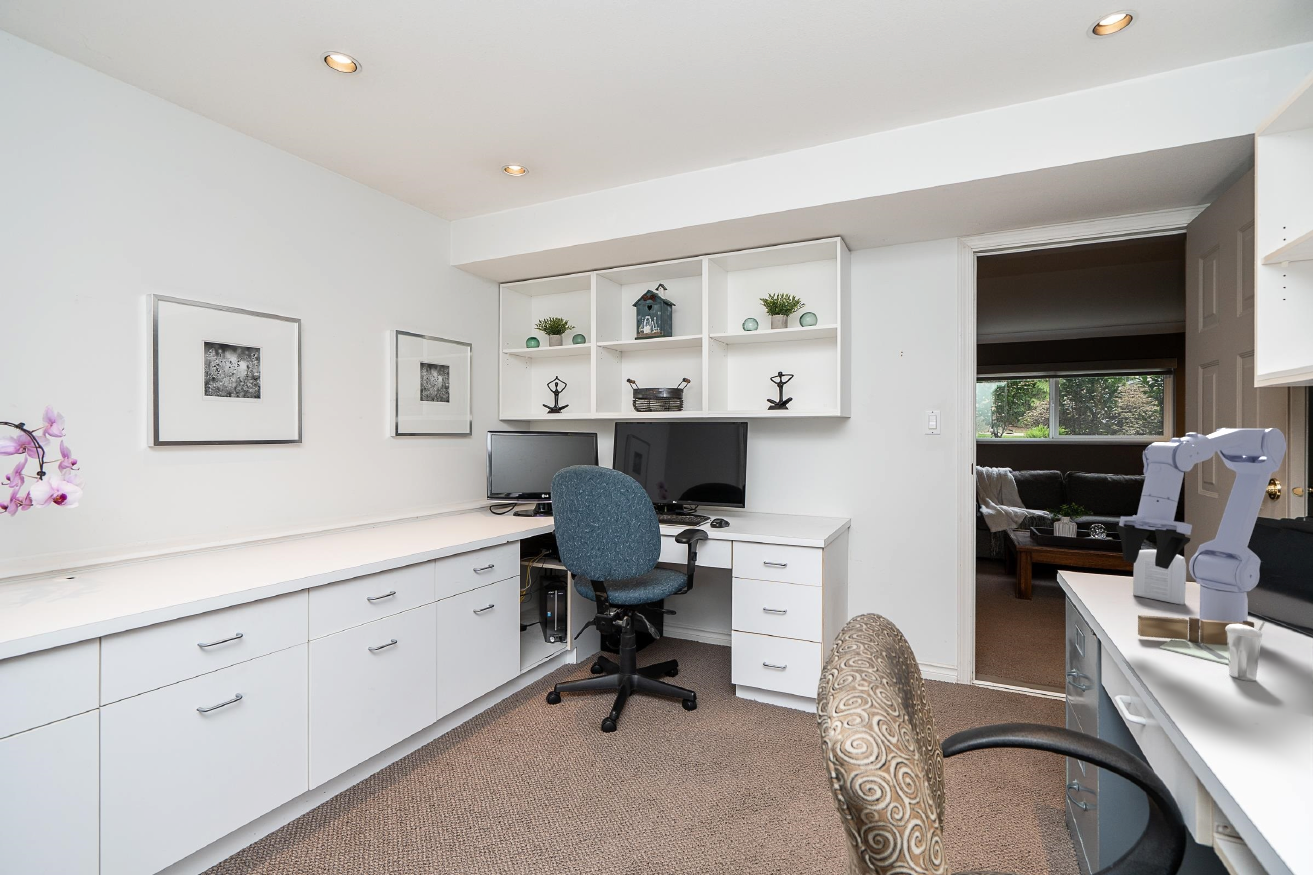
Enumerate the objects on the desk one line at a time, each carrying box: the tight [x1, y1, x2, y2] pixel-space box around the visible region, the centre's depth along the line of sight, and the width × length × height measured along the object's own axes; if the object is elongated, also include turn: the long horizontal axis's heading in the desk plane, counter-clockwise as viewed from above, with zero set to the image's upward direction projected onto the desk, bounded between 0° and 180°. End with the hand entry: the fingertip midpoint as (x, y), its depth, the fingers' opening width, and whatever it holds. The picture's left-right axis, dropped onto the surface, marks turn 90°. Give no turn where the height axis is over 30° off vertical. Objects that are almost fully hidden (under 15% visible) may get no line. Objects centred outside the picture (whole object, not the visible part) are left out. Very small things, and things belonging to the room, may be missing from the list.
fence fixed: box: [1188, 616, 1255, 645], centre depth 118 cm, size 2×10×5 cm, turn 75°
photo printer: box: [1132, 549, 1187, 605], centre depth 149 cm, size 10×4×12 cm, turn 36°
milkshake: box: [1225, 620, 1266, 682], centre depth 103 cm, size 4×5×10 cm
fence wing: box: [1137, 614, 1189, 640], centre depth 121 cm, size 8×1×4 cm, turn 75°
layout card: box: [1159, 631, 1229, 666], centre depth 117 cm, size 16×11×1 cm
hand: (1144, 564), depth 120 cm, fingers open, 7 cm apart
